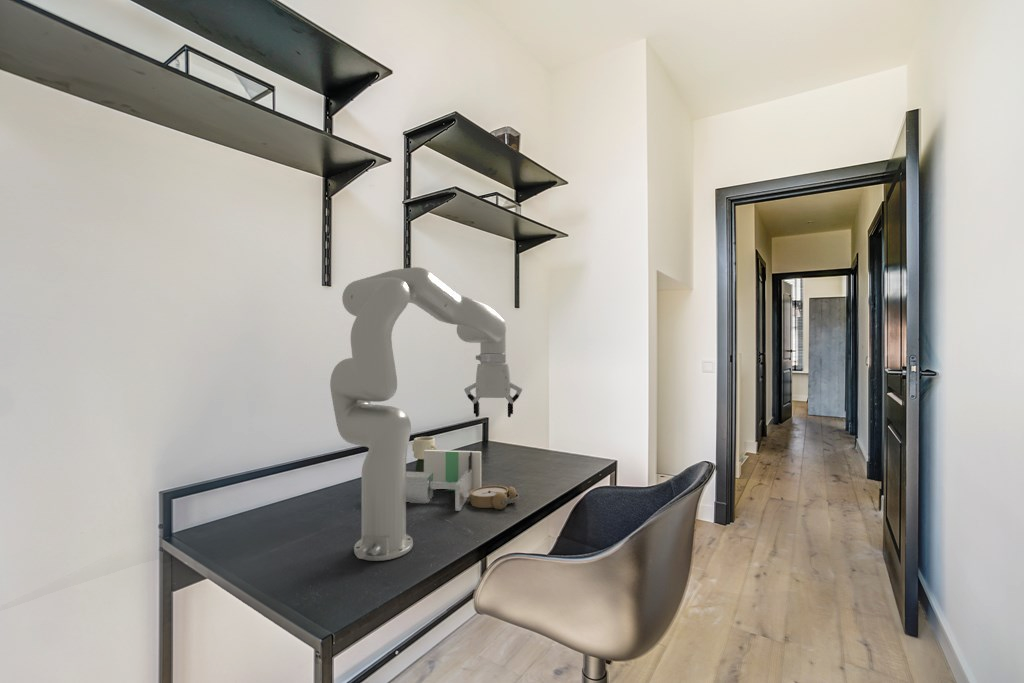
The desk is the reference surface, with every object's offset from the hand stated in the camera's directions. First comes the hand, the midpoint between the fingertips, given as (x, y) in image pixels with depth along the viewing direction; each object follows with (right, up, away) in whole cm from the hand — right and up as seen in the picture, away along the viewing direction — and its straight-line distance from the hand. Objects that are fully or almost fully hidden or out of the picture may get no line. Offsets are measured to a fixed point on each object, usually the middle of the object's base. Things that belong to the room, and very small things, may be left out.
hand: (493, 416), depth 138 cm
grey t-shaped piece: (-13, -23, -4) cm, 27 cm away
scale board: (-13, -24, +6) cm, 28 cm away
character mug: (-25, -24, +20) cm, 40 cm away
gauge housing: (-24, -24, -3) cm, 34 cm away
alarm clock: (+1, -24, -6) cm, 25 cm away
